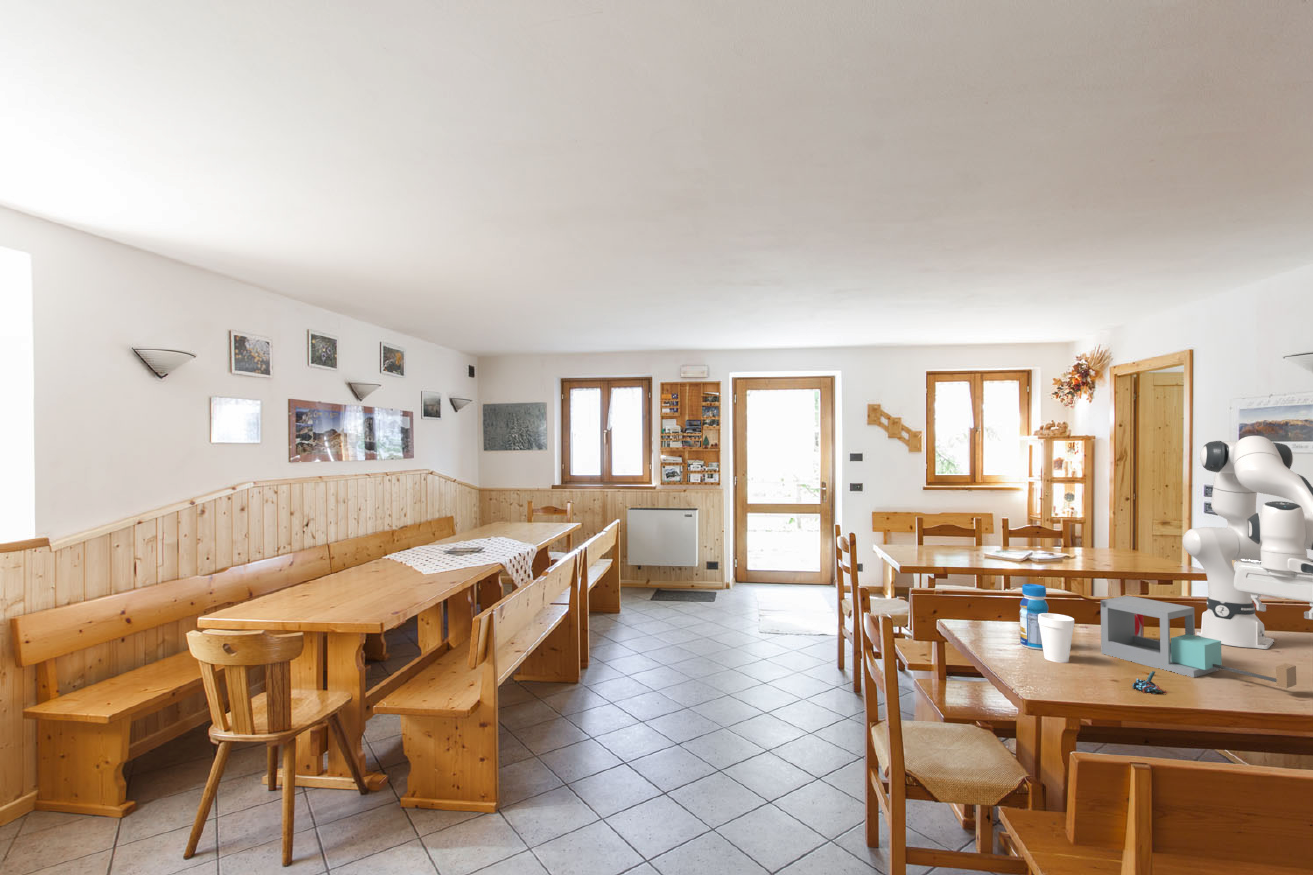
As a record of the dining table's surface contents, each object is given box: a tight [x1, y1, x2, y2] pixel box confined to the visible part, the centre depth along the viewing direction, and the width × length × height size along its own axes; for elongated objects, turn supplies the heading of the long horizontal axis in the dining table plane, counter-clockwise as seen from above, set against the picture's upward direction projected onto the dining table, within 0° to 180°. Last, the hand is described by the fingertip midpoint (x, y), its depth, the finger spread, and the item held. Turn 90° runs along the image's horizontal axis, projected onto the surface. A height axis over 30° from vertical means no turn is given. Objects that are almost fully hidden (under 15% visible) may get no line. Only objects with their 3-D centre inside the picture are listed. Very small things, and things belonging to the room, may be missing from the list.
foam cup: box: [1038, 612, 1075, 664], centre depth 192 cm, size 10×9×13 cm
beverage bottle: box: [1019, 583, 1050, 651], centre depth 205 cm, size 8×8×20 cm
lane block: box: [1170, 634, 1297, 689], centre depth 175 cm, size 10×24×7 cm, turn 27°
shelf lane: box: [1100, 595, 1221, 678], centre depth 191 cm, size 16×24×17 cm, turn 27°
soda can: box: [1135, 613, 1145, 637], centre depth 213 cm, size 7×7×12 cm
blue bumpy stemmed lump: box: [1131, 670, 1168, 695], centre depth 166 cm, size 8×7×8 cm
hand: (1284, 614), depth 166 cm, fingers open, 8 cm apart
